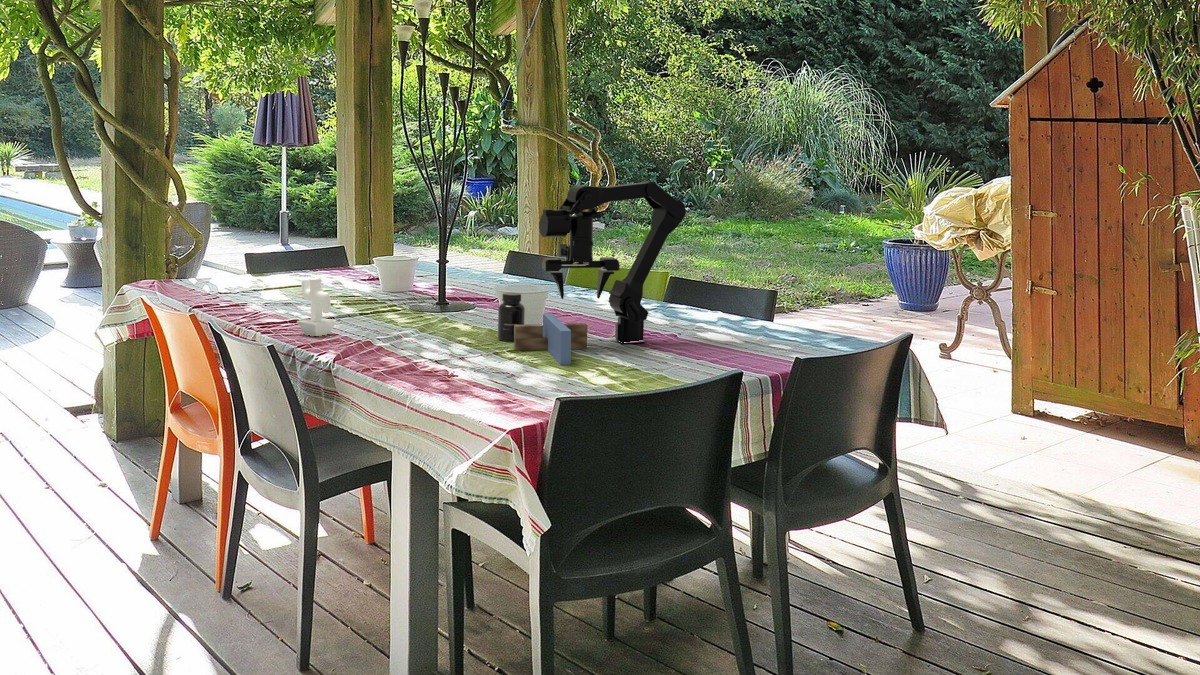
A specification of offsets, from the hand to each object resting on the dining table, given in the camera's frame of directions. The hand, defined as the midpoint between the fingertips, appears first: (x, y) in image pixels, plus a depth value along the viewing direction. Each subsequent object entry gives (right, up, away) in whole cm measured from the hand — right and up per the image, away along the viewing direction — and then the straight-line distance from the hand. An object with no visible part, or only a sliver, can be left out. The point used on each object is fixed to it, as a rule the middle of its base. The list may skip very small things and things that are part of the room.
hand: (580, 298), depth 261 cm
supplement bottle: (-18, -11, +8) cm, 22 cm away
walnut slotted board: (-7, -13, -2) cm, 15 cm away
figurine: (-69, -9, +10) cm, 70 cm away
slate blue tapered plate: (-6, -14, -9) cm, 18 cm away
